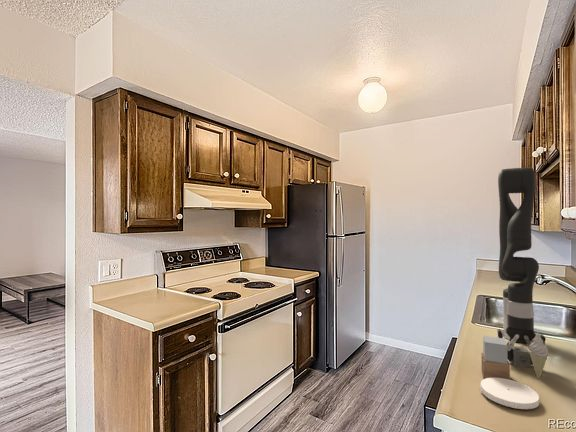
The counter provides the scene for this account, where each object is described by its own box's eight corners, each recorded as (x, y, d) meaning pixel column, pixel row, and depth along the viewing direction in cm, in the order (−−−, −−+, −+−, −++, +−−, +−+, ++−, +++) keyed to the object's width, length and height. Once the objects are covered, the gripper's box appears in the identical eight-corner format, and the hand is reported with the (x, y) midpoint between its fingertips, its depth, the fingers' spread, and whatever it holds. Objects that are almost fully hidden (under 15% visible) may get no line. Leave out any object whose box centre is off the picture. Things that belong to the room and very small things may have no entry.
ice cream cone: (547, 377, 104) (546, 330, 104) (550, 384, 100) (549, 335, 100) (527, 373, 107) (527, 327, 107) (529, 380, 103) (529, 332, 103)
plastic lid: (482, 381, 103) (482, 373, 103) (538, 394, 95) (537, 386, 95) (478, 402, 92) (478, 393, 92) (541, 419, 84) (540, 409, 84)
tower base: (481, 370, 110) (481, 352, 110) (506, 374, 107) (506, 356, 107) (483, 379, 103) (483, 361, 103) (509, 384, 100) (509, 365, 100)
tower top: (483, 353, 109) (483, 335, 109) (504, 356, 106) (504, 338, 106) (485, 360, 104) (484, 342, 104) (507, 364, 101) (507, 345, 101)
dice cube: (508, 359, 117) (507, 345, 117) (523, 360, 117) (523, 346, 117) (515, 366, 112) (515, 351, 112) (531, 366, 112) (531, 352, 112)
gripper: (543, 313, 114) (543, 361, 114) (494, 308, 120) (495, 354, 120) (548, 319, 107) (549, 371, 107) (497, 314, 113) (497, 362, 113)
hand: (520, 362), depth 113 cm, fingers closed on dice cube, 5 cm apart
